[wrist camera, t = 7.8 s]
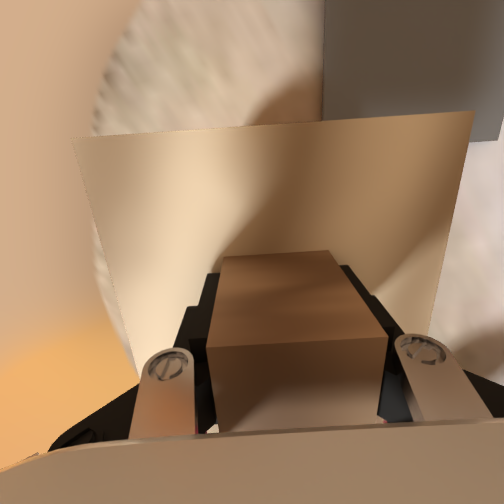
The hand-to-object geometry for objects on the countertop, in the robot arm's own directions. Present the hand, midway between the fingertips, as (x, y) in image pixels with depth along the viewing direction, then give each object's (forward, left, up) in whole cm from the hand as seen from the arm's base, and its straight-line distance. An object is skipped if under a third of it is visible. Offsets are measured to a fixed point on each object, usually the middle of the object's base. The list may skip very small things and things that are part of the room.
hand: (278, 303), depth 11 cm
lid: (0, 0, -1) cm, 1 cm away
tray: (-13, -12, -17) cm, 24 cm away
